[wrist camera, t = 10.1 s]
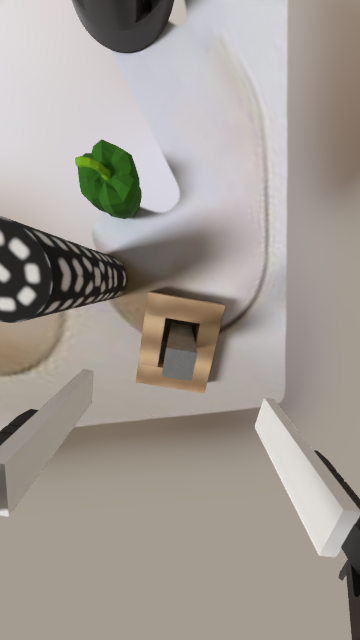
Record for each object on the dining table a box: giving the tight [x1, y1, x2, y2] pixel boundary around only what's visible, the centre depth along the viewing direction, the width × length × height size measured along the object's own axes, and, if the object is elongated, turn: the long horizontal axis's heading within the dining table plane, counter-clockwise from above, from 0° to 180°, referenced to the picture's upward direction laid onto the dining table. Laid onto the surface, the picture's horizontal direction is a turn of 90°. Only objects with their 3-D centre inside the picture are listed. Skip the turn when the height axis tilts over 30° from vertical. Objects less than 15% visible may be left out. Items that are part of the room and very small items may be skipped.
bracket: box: [162, 322, 198, 381], centre depth 29 cm, size 7×4×14 cm, turn 170°
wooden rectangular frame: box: [136, 291, 225, 393], centre depth 34 cm, size 18×14×4 cm
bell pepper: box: [75, 140, 141, 219], centre depth 25 cm, size 8×8×10 cm
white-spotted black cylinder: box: [0, 216, 127, 323], centre depth 24 cm, size 8×8×20 cm
